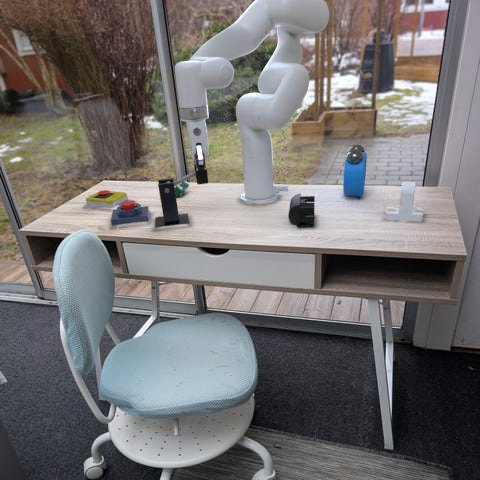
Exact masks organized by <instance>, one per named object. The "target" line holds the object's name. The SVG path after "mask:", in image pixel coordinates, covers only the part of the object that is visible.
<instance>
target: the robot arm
mask: <svg viewBox="0 0 480 480" xmlns="http://www.w3.org/2000/svg"><path fill="white" fill-rule="evenodd" d="M329 20H330V8H329V6H328V4H327V2H326V1H325V0H254V1H253V2H252V3H251V4H250V5H249V6H248V7H247V8H246V10H244V12H242V14H241V15H240V16H239V17H238V19H237V20H235V21H234V22H233V24H231V25H230V26H227V27H225V28H224V29H223V30H222V31H220V32H219V33H217V34H215V35H214V36H212V37H211V38H210V39H208V40H207V41H206V42H204V43H203V44H201V46H200V47H199V48H198V49H197V50H196V51H195V53H193V54H192V56H191V57H190V58H189V60H185V61H179V62H177V63H176V64H175V65H174V76H175V77H174V78H175V84H176V92H177V100H178V107H179V115H180V121H181V122H185V126H186V127H185V128H186V135H187V141H188V146H189V151H190V155H191V158H192V160H193V162H194V164H193V169H194V172H195V171H196V176H194V178H195V179H196V184H197V185H206V184H209V175H208V168H207V164H206V158H207V159H210V158H211V156H210V155H211V154H210V146H209V135H208V130H207V129H208V128H207V124H206V120H208V119H209V118H210V117H209V105H208V97H207V90H222V89H225V88H227V87H228V86H230V84H232V82H233V79H234V77H235V68H234V66H233V64H232V63H231V62H230V61H232V60H234V59H238V58H242V57H244V56H246V55H249V54H251V53H253V52H254V51H255V50H257V48H259V46H260V45H261V44H262V43H263V41H265V39H266V38H267V37H268V36H269V35H270V34H271V32H272V31H273V30H274V29H275V28H276V32H277V45H276V48H275V50H274V51H273V53H272V55H271V57H270V58H269V60H268V61H267V63H266V65H265V66H264V67H263V68H262V69H263V70H262V71H261V72H260V74H259V77H258V79H257V89H258V91H259V92H249V93H245V94H243V95H242V96H241V97H240V98H239V99H238V100H237V103H236V105H235V116H236V122H237V125H238V129H239V135H240V144H241V158H242V173H243V189H244V192H242V193H241V194H240V196H239V198H240V200H242V201H243V202H246V203H264V202H271V201H273V200H276V199H279V197H280V195H279V194H280V193H281V192H288V191H289V185H288V184H283V183H280V184H276V183H275V182H274V158H273V140H272V136H271V132H270V131H274V132H276V131H281V130H283V129H285V128H286V126H287V125H289V123H290V121H291V120H292V118H294V116H295V114H296V112H297V111H298V108H300V106H301V104H302V103H303V101H304V99H305V97H306V95H307V93H308V91H309V87H310V74H309V71H308V70H307V68H306V67H305V66H304V65H303V64H301V63H302V61H303V56H304V52H303V47H302V44H301V38H300V35H315V34H320V33H321V32H323V31H324V30H325V29H326V28H327V26H328V24H329Z"/></svg>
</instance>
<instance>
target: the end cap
mask: <svg viewBox="0 0 480 480" xmlns="http://www.w3.org/2000/svg"><path fill="white" fill-rule="evenodd" d="M301 195H302V194H301V192H300V193H296V194H294V195H293V196H292V197H291V198H290V201H289V207H288V220H289V222H290V223H291V224H292V225H293V226H295V227H297V228H301V229H304V228H305V229H308V228H309V229H311V228H315V210H316V209H315V201H316V200H315V199H316V196H315V195H305V196H304V195H302V196H301Z"/></svg>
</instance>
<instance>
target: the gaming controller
mask: <svg viewBox="0 0 480 480" xmlns="http://www.w3.org/2000/svg"><path fill="white" fill-rule="evenodd" d="M189 186H190V183H189V181H188V180H186V181H184V182H182V183H180V184H178V185H176V186H175V193H176V197H181V196H182V195H183V194H185V192H186V190H187V188H188V187H189Z"/></svg>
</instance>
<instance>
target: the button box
mask: <svg viewBox="0 0 480 480" xmlns="http://www.w3.org/2000/svg"><path fill="white" fill-rule="evenodd" d="M135 203H136V208H134V209H131V210H122V208H121V205H119V206H116V209H112V213H111V217H110V223H111V224H110V225H111V226H119V225H129V224H134V223H135V224H137V223H143V222H149V220H150V219H149V218H150V209H149V208H150V207H149V205H143V206H142V204H140V203H138V202H135Z"/></svg>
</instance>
